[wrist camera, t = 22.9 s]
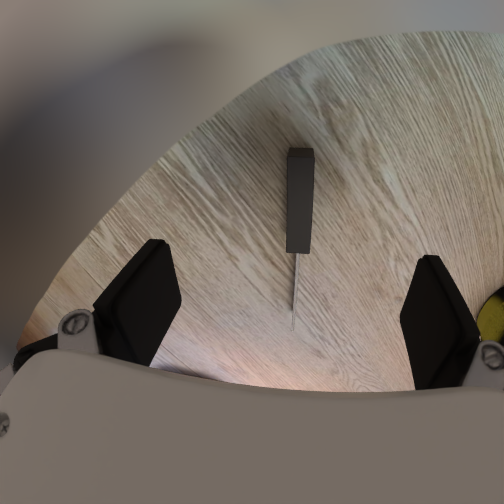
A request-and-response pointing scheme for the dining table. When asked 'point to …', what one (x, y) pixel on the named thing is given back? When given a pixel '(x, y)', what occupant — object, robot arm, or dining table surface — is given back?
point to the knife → (299, 206)
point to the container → (492, 318)
